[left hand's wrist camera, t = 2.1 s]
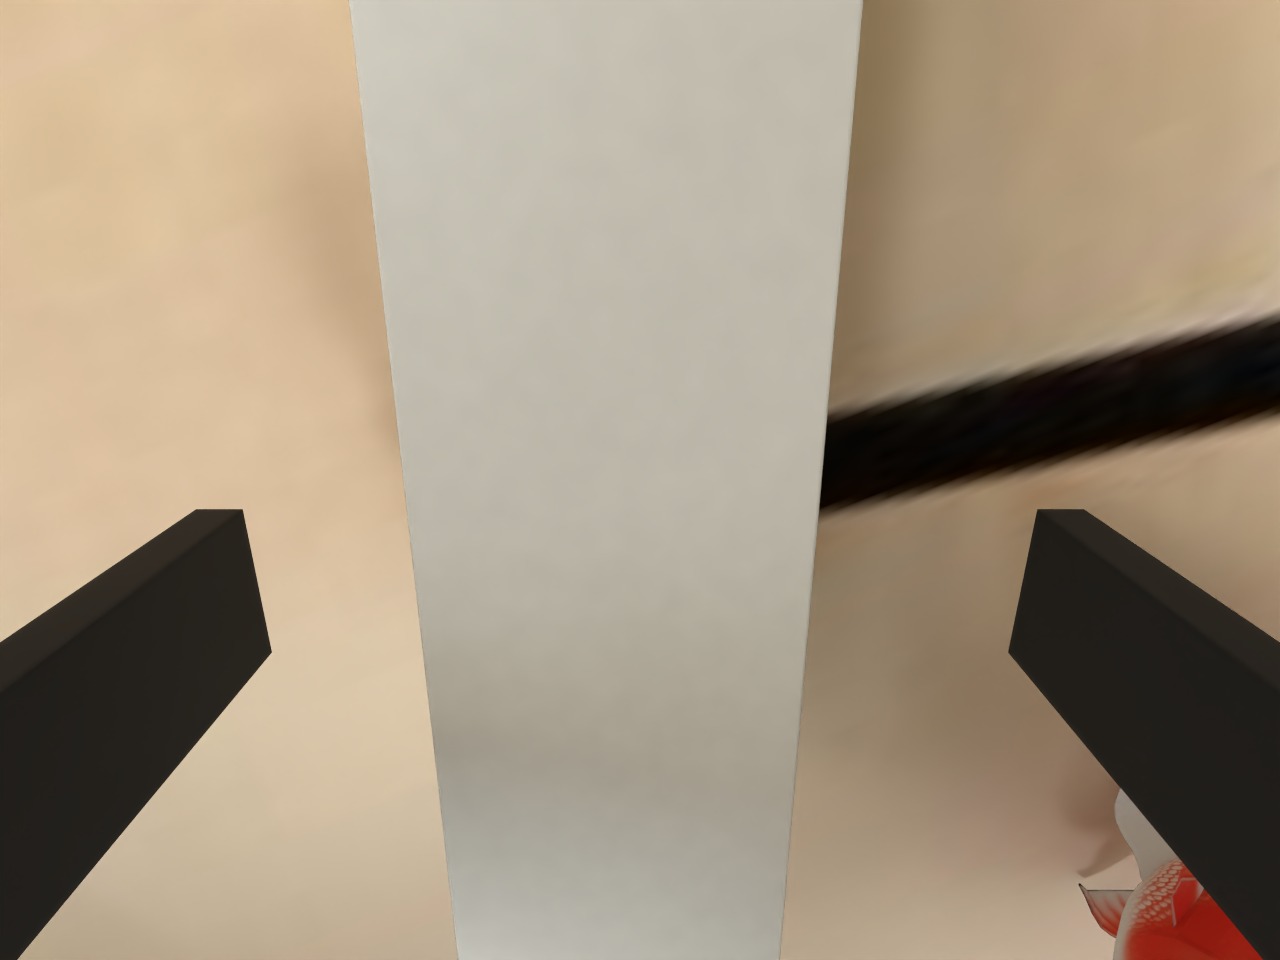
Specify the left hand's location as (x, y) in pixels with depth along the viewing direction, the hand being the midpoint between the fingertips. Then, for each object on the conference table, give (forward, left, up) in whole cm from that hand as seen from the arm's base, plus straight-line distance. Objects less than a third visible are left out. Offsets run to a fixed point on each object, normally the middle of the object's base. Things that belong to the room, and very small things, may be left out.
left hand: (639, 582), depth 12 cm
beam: (+27, +12, -5) cm, 30 cm away
